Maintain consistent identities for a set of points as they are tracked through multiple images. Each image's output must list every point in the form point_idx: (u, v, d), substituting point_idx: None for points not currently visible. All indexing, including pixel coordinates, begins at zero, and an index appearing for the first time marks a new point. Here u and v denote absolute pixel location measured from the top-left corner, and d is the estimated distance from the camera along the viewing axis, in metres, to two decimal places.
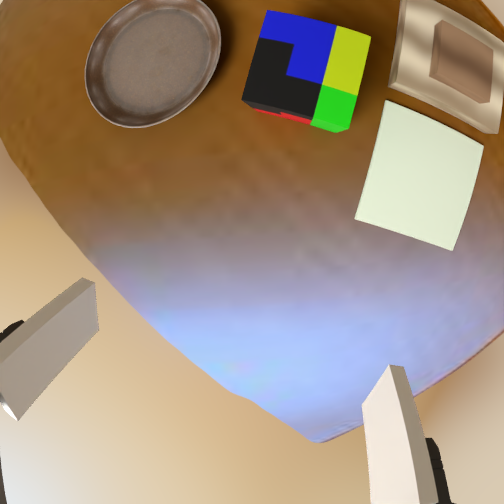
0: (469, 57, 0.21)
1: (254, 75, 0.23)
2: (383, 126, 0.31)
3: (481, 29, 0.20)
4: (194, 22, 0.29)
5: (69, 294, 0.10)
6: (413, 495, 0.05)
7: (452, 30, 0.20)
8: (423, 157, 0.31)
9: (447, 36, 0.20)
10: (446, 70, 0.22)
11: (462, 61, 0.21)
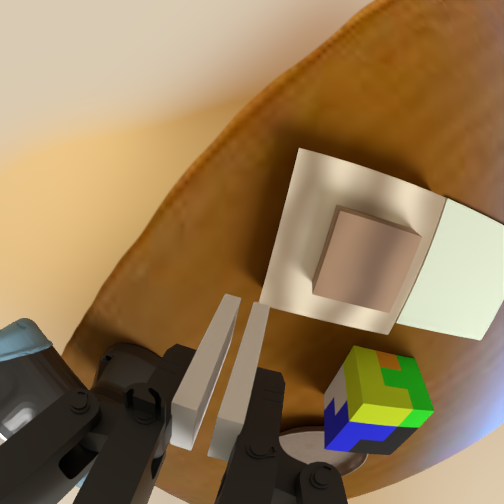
0: (364, 263, 0.24)
1: (376, 451, 0.29)
2: (419, 325, 0.32)
3: (291, 197, 0.26)
4: None
5: (224, 311, 0.12)
6: None
7: (326, 281, 0.26)
8: (452, 284, 0.29)
9: (337, 292, 0.26)
10: (386, 301, 0.25)
11: (372, 276, 0.25)
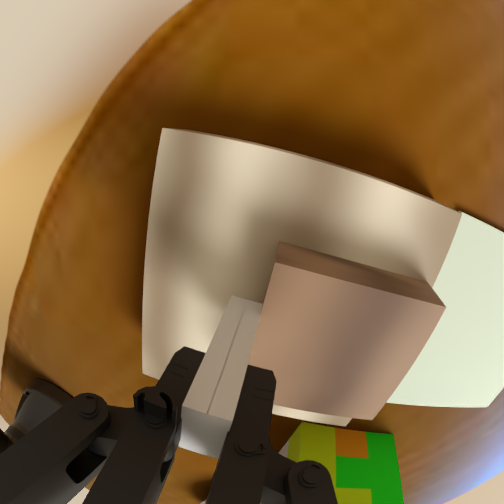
0: (328, 356, 0.12)
1: None
2: (401, 401, 0.20)
3: (156, 219, 0.14)
4: None
5: (232, 313, 0.12)
6: None
7: None
8: (458, 347, 0.17)
9: (280, 395, 0.14)
10: (367, 406, 0.13)
11: (344, 375, 0.13)
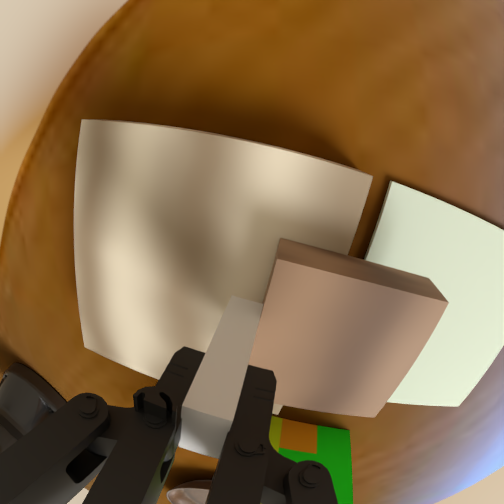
0: (331, 353, 0.12)
1: None
2: None
3: (79, 198, 0.14)
4: None
5: (232, 313, 0.12)
6: None
7: None
8: None
9: (281, 394, 0.14)
10: (370, 404, 0.13)
11: (347, 372, 0.13)
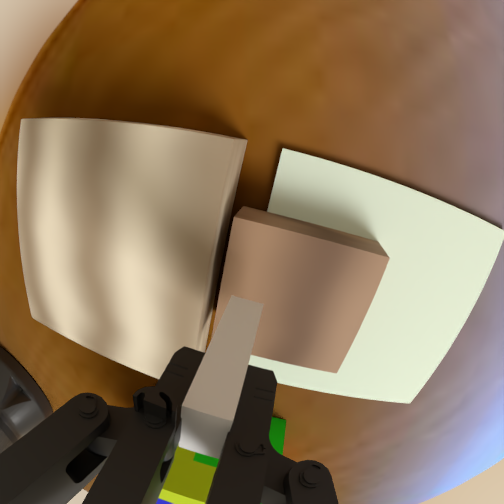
0: (285, 302, 0.15)
1: None
2: None
3: (20, 183, 0.15)
4: None
5: (231, 313, 0.12)
6: None
7: None
8: None
9: None
10: (330, 357, 0.16)
11: (302, 321, 0.16)
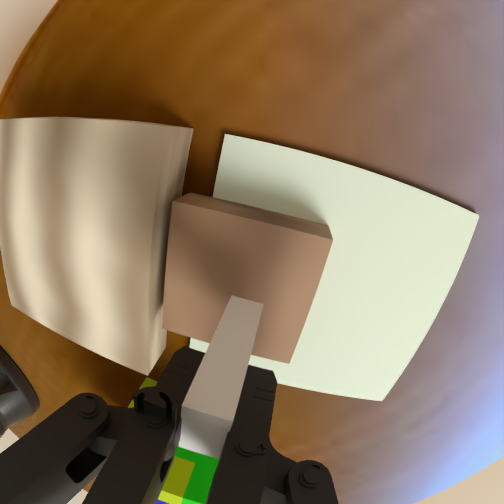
0: (227, 286, 0.15)
1: None
2: None
3: None
4: None
5: (231, 313, 0.12)
6: None
7: (175, 312, 0.17)
8: None
9: (196, 328, 0.17)
10: (279, 346, 0.16)
11: None
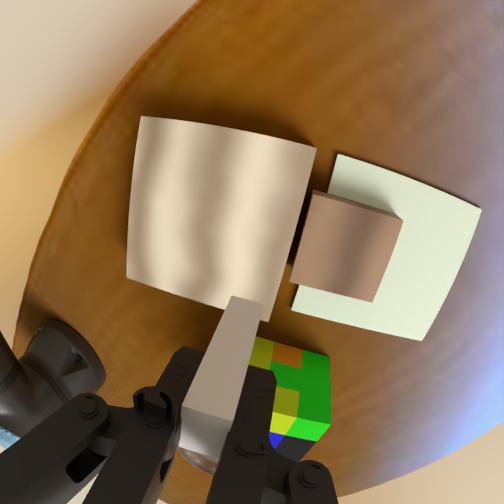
0: (341, 248, 0.24)
1: None
2: (324, 315, 0.29)
3: (137, 166, 0.24)
4: None
5: (232, 313, 0.12)
6: None
7: (302, 268, 0.25)
8: None
9: (315, 279, 0.25)
10: (368, 289, 0.25)
11: (351, 262, 0.24)
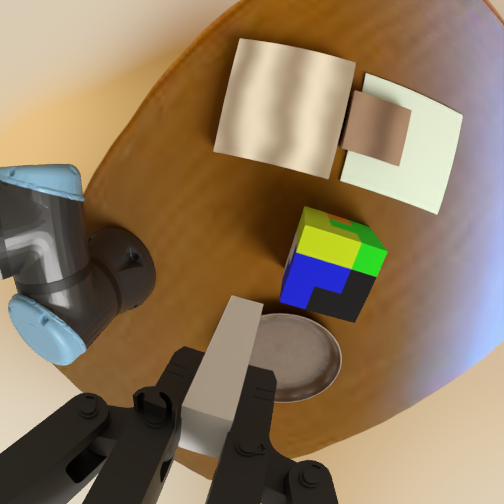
0: (375, 125, 0.32)
1: (337, 314, 0.35)
2: (364, 185, 0.38)
3: (235, 68, 0.32)
4: None
5: (231, 313, 0.12)
6: None
7: (350, 138, 0.33)
8: None
9: (359, 146, 0.34)
10: (395, 156, 0.33)
11: (382, 135, 0.32)
